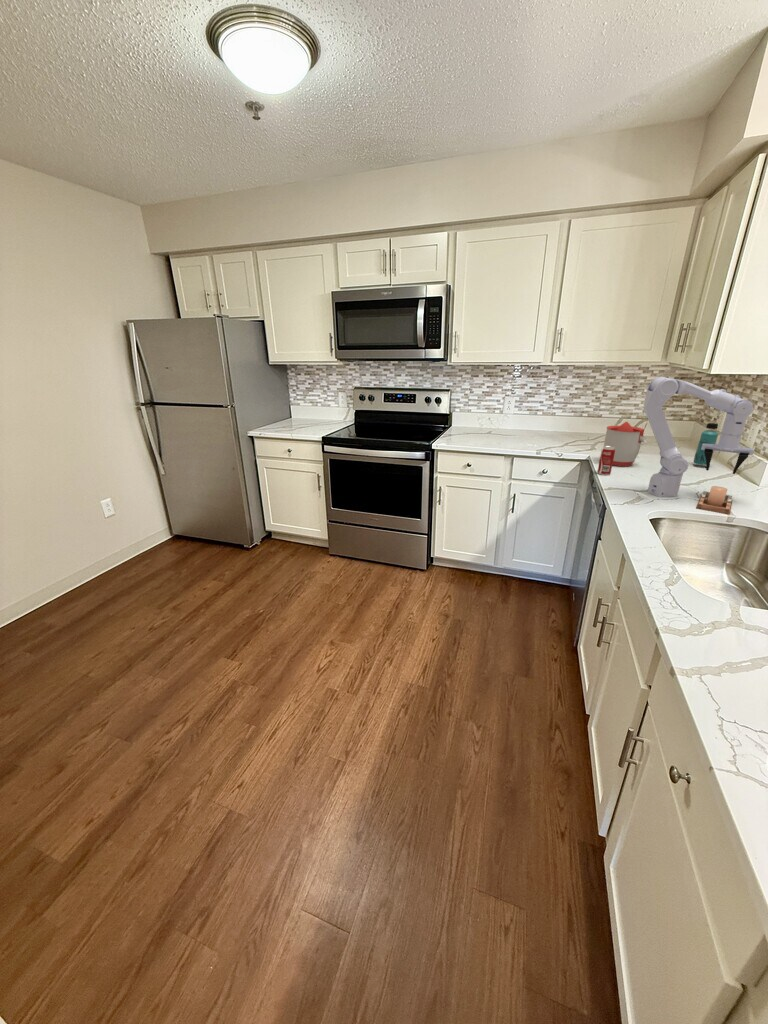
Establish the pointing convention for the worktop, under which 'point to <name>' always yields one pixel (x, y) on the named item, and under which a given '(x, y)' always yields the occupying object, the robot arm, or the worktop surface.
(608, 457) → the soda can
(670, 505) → the worktop surface
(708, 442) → the beverage bottle
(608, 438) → the citrus juicer
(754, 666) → the worktop surface
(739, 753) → the worktop surface
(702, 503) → the tray
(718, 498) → the tube
